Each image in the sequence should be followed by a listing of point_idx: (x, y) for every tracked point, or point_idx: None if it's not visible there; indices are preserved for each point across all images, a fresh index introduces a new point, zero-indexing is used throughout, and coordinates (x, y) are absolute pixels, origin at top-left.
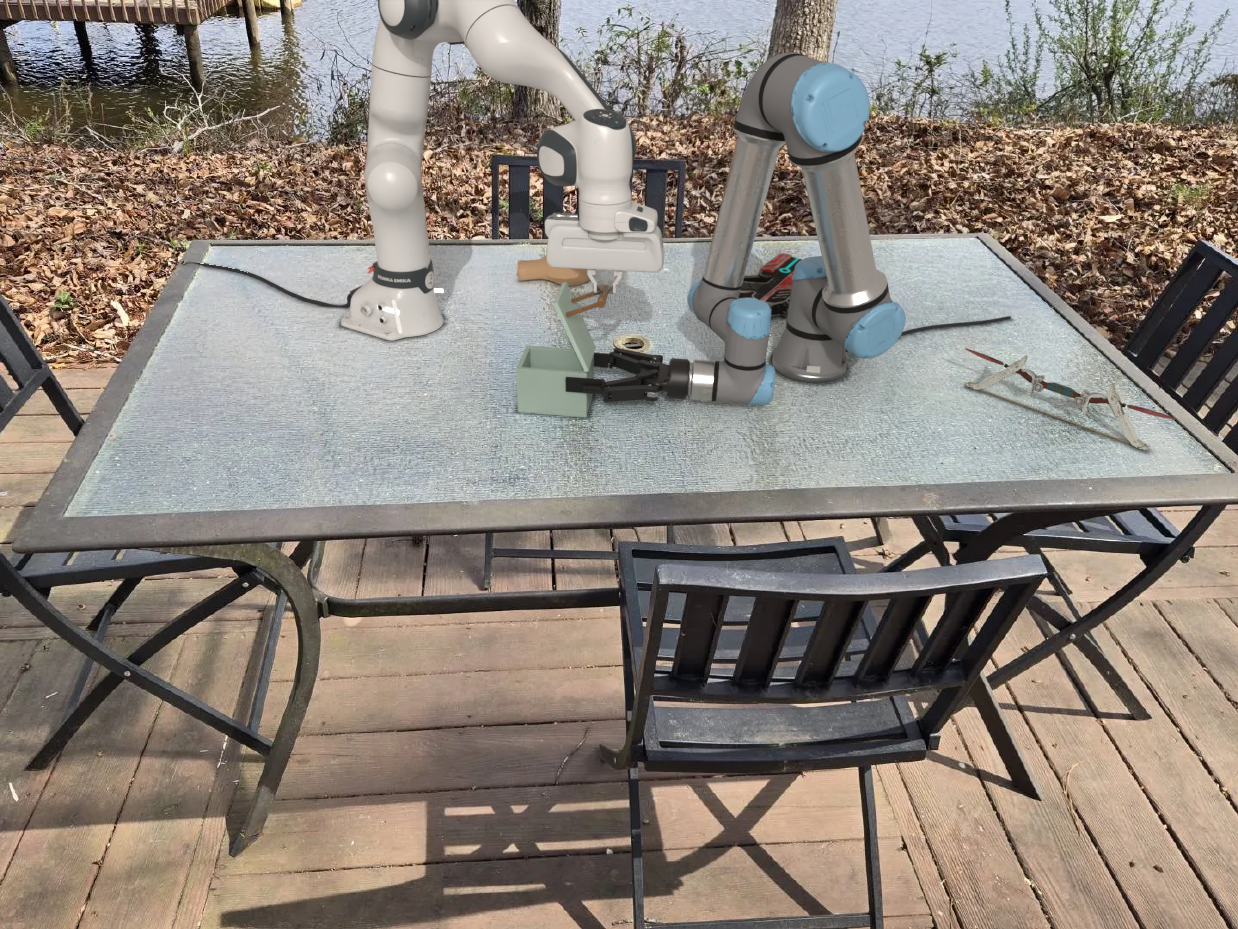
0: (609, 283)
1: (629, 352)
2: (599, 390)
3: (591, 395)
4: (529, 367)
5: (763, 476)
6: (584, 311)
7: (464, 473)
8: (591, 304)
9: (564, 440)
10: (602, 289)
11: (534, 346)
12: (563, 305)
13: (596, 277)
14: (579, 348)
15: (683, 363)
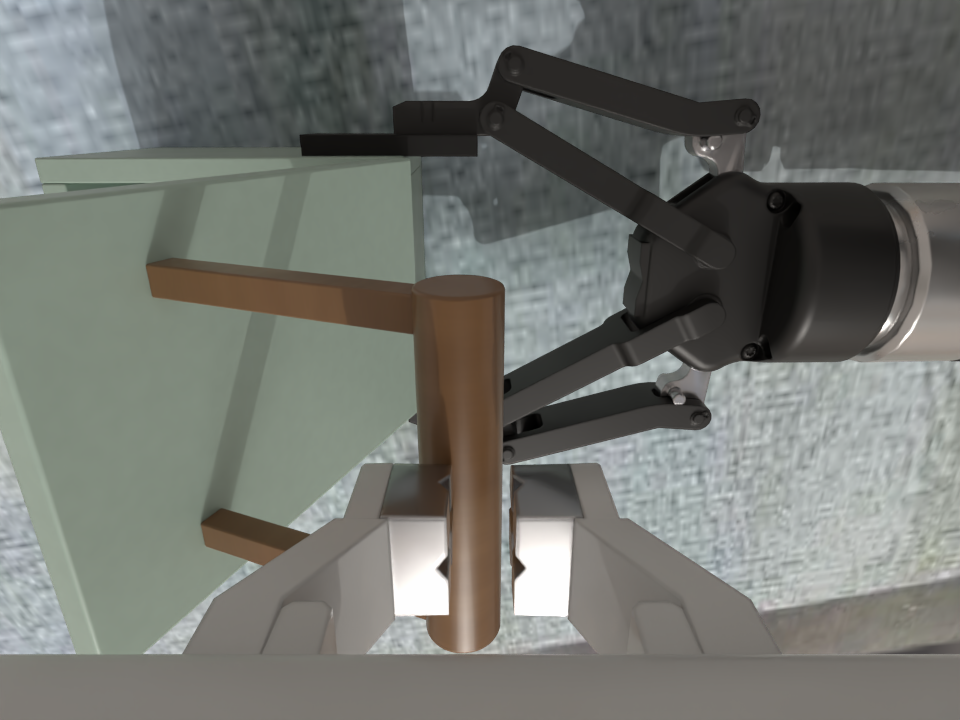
0: (532, 580)
1: (584, 94)
2: None
3: (421, 213)
4: None
5: (926, 537)
6: None
7: (180, 625)
8: None
9: (386, 461)
10: (451, 533)
11: (80, 164)
12: (151, 541)
13: (355, 568)
14: (359, 450)
15: (865, 317)
